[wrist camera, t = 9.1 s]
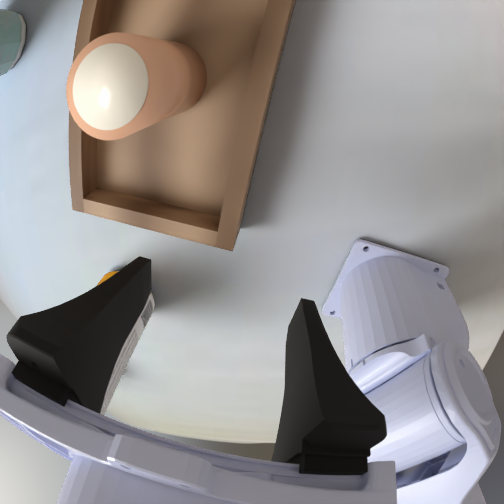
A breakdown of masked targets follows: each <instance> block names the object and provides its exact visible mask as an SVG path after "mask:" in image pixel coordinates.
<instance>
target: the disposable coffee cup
mask: <svg viewBox="0 0 504 504" xmlns="http://www.w3.org/2000/svg"><path fill="white" fill-rule="evenodd" d="M25 33H26V24H25V22H24V19H23V17H22V15H20V14H18V13H17V12H14V11H10V10H3V9H0V76H1V75H3V74H5V73H7V71H8V70H10V69H12V68H13V66H14V65H15V63H16V62H17V60H18V59H19V58H20V55H21V52H22V49H23V46H24V43H25Z"/></svg>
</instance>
